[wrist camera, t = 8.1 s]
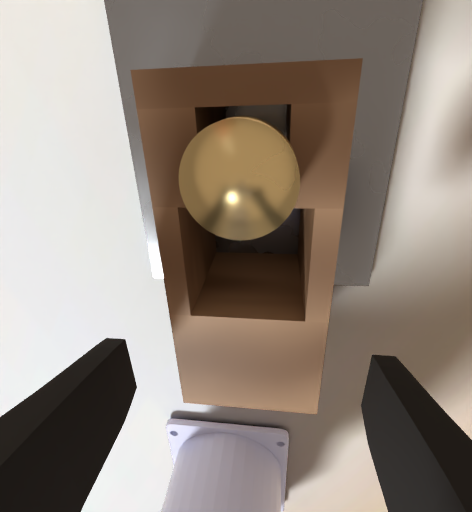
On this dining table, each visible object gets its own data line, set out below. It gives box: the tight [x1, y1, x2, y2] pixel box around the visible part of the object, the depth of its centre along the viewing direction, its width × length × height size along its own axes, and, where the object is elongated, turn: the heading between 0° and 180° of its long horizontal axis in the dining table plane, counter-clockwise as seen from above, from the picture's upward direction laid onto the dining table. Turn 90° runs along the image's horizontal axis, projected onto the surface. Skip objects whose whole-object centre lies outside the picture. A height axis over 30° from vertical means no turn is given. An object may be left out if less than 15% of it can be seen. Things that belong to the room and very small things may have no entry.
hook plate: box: [104, 0, 423, 286], centre depth 9 cm, size 12×10×6 cm
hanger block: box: [130, 58, 363, 414], centre depth 11 cm, size 11×5×5 cm, turn 2°
